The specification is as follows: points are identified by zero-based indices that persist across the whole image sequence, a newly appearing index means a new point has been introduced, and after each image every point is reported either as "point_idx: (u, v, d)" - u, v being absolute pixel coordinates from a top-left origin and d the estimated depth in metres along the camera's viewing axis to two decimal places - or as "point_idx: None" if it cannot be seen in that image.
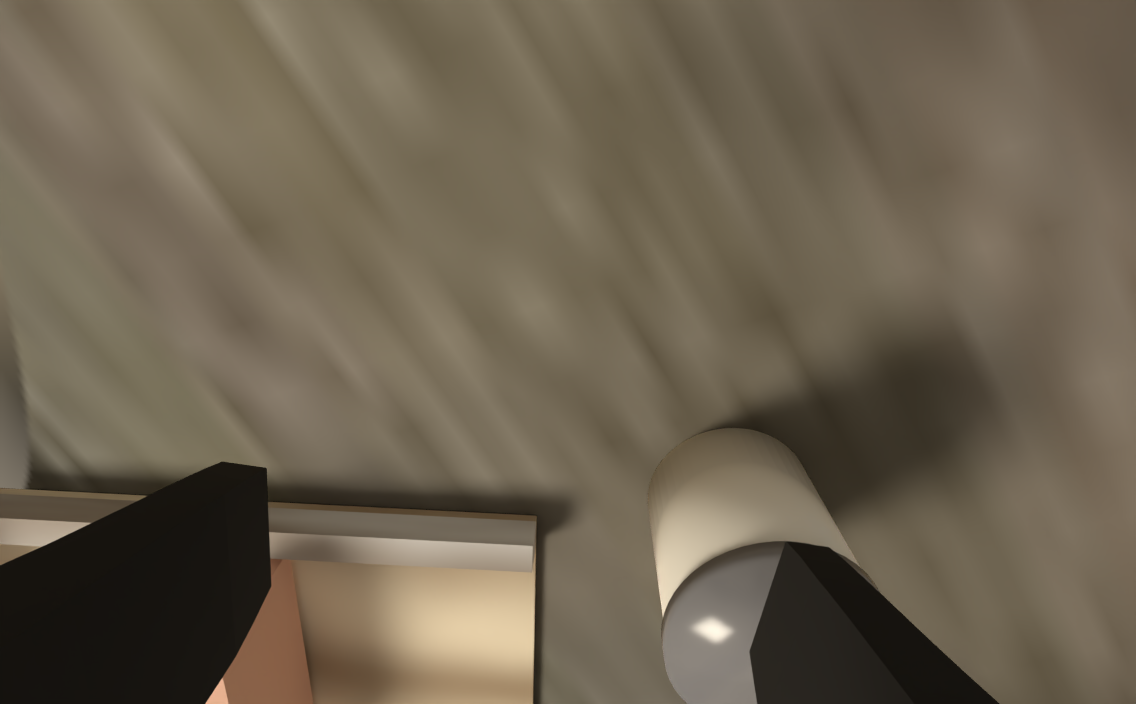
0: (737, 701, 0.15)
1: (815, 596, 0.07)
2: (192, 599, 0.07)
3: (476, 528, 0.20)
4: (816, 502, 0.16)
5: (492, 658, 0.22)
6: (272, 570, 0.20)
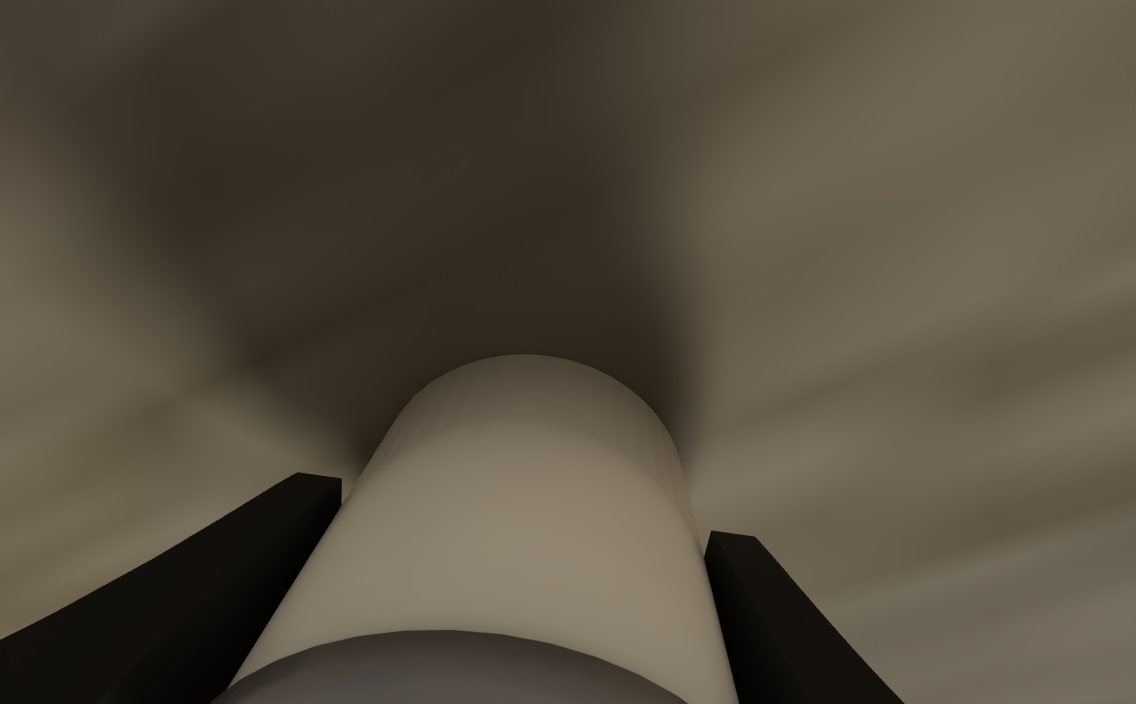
0: None
1: (730, 584, 0.07)
2: None
3: None
4: (339, 516, 0.07)
5: None
6: None
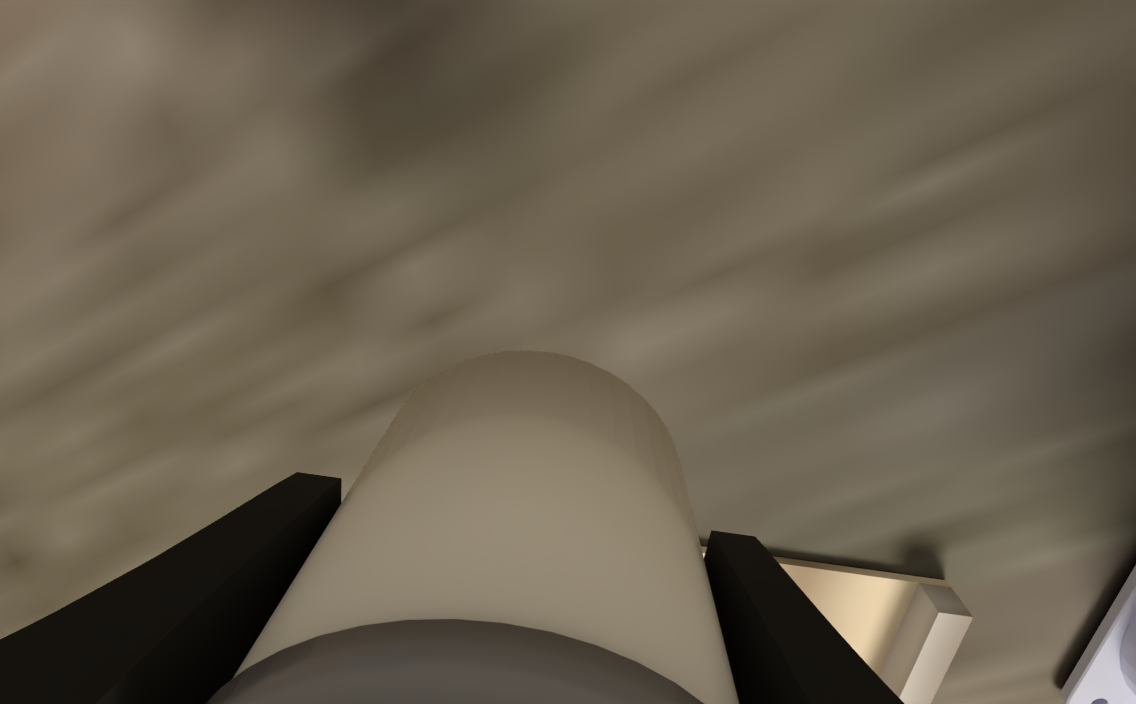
0: None
1: (730, 584, 0.07)
2: None
3: None
4: (341, 510, 0.07)
5: None
6: None
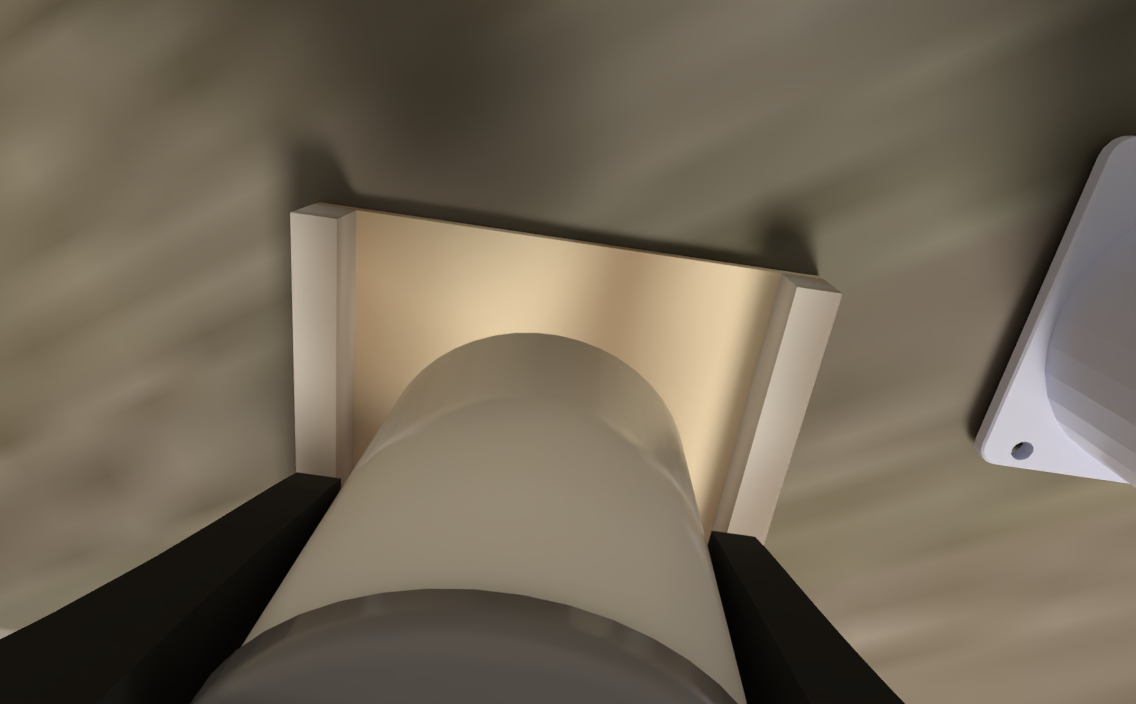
0: None
1: (730, 584, 0.07)
2: None
3: None
4: (335, 500, 0.07)
5: (559, 300, 0.15)
6: None
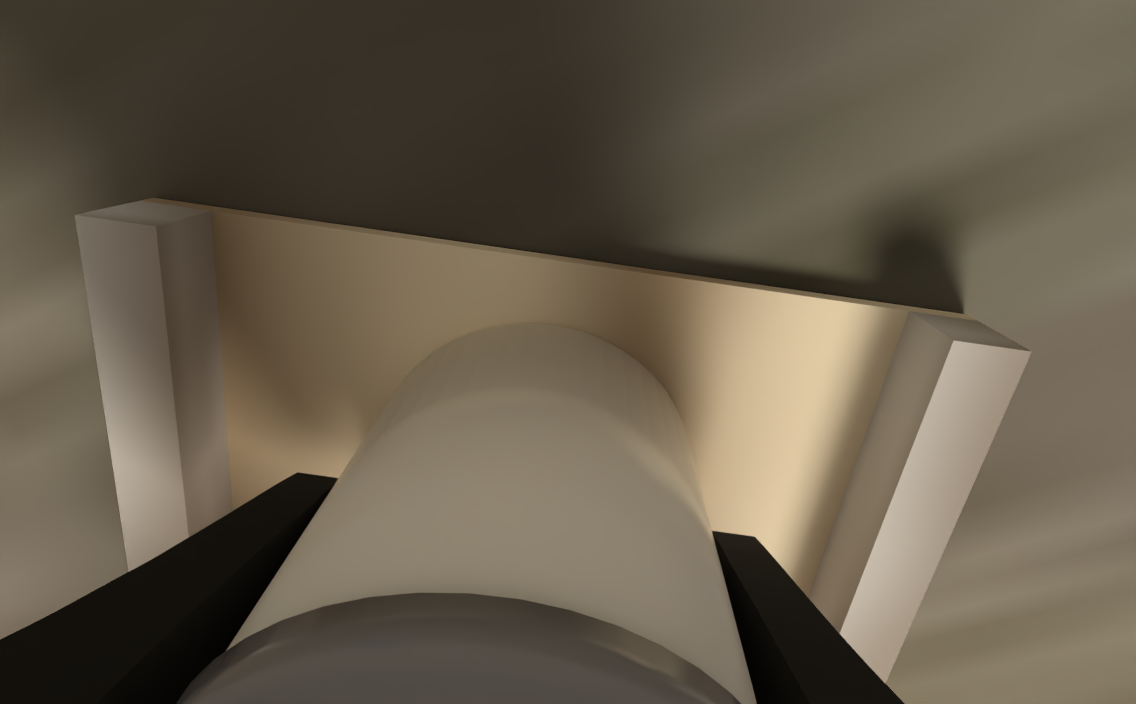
0: None
1: (730, 584, 0.07)
2: None
3: None
4: (326, 497, 0.07)
5: None
6: None
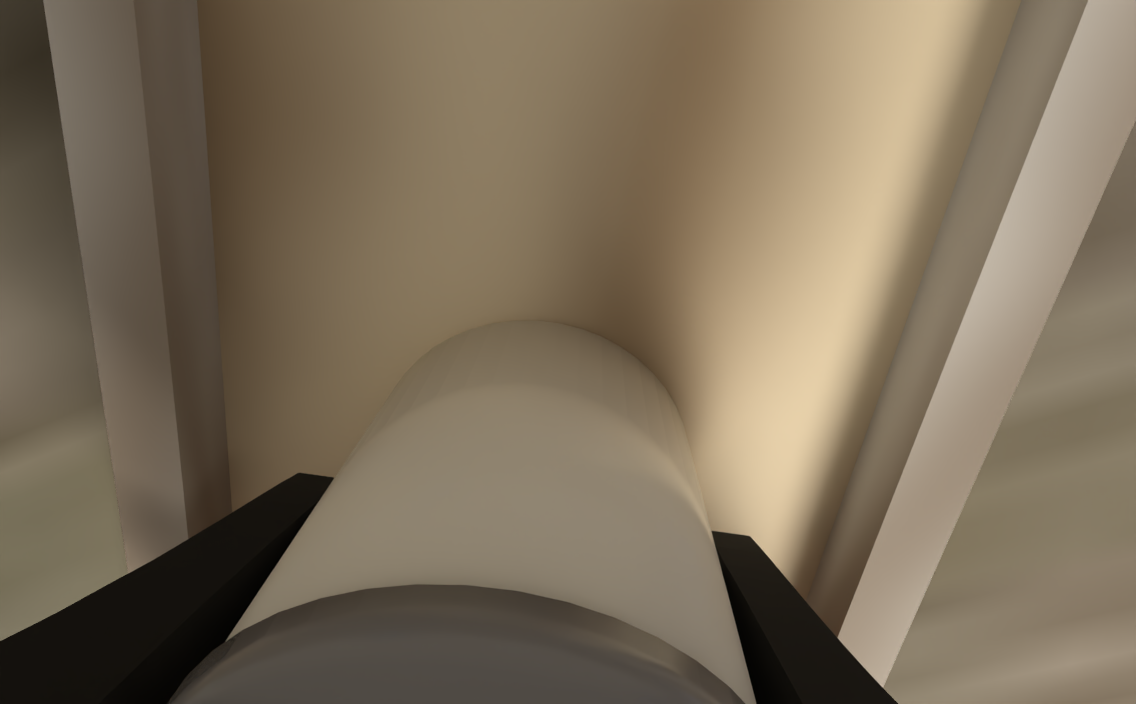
0: None
1: None
2: None
3: None
4: None
5: (593, 16, 0.08)
6: None
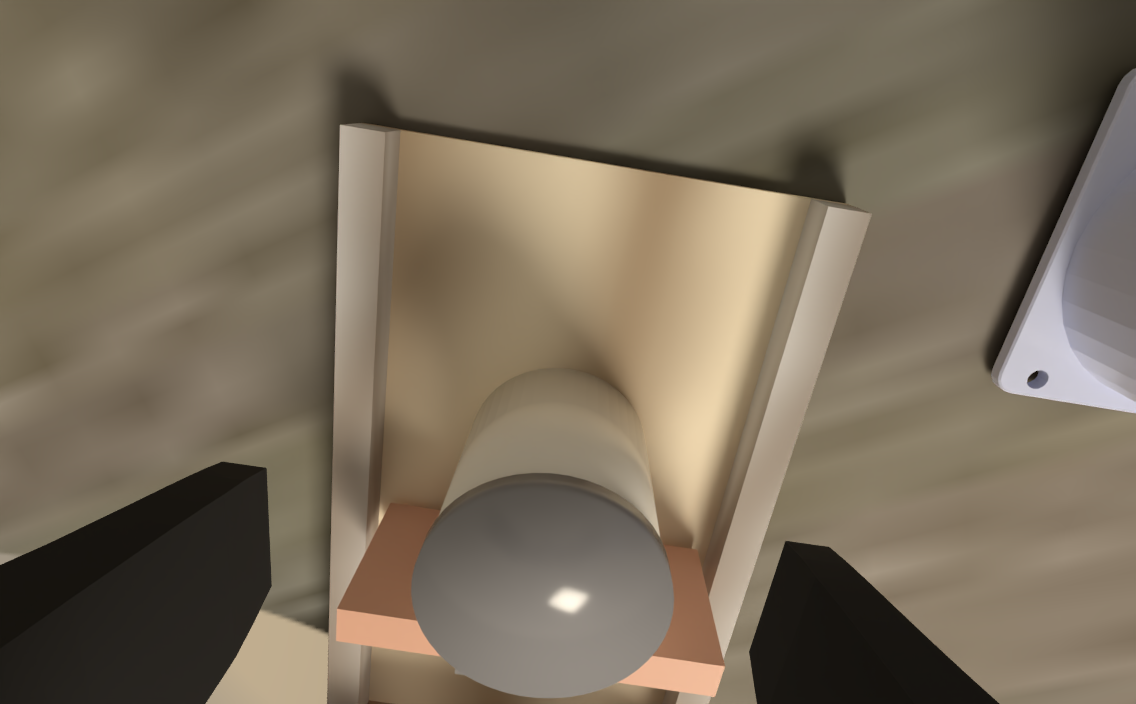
0: (620, 636, 0.13)
1: (815, 596, 0.07)
2: (192, 599, 0.07)
3: None
4: (468, 451, 0.15)
5: (594, 223, 0.16)
6: (380, 525, 0.18)
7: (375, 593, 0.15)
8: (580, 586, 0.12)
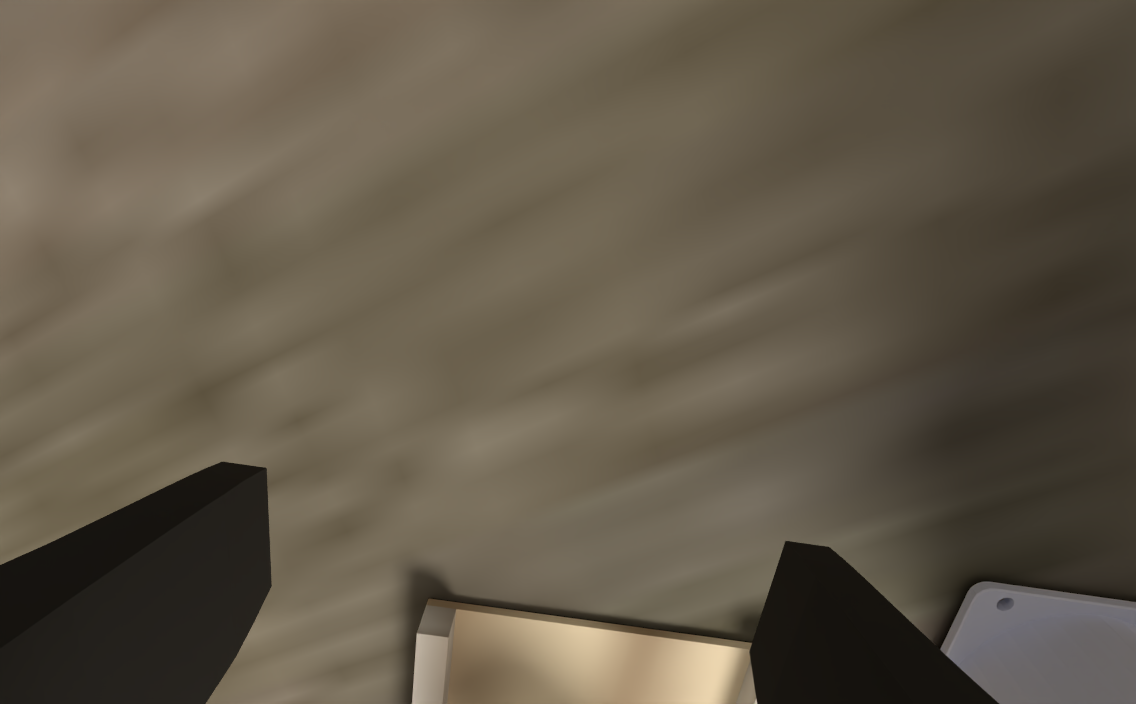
0: None
1: (815, 596, 0.07)
2: (192, 599, 0.07)
3: None
4: None
5: (596, 661, 0.22)
6: None
7: None
8: None
